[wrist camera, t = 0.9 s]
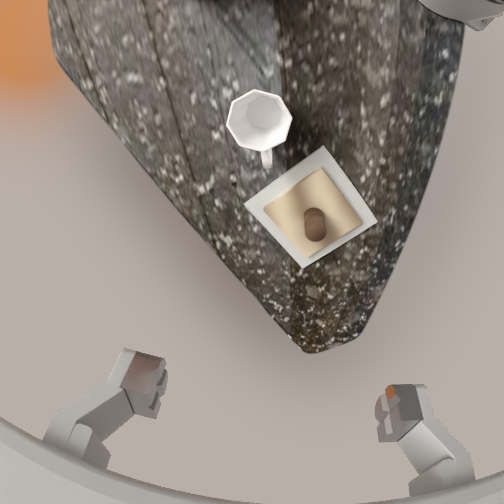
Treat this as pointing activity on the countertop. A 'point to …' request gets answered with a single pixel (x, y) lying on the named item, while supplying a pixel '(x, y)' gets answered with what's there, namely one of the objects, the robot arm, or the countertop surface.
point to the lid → (312, 213)
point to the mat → (295, 175)
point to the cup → (259, 122)
